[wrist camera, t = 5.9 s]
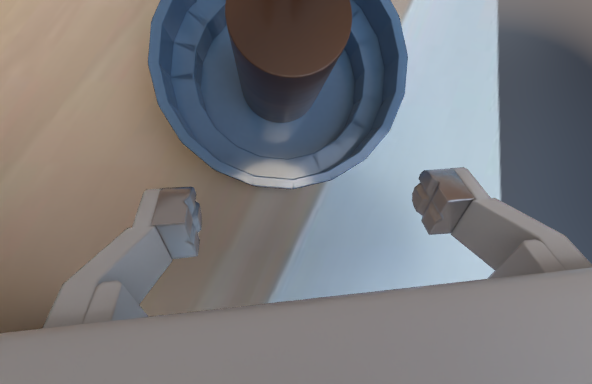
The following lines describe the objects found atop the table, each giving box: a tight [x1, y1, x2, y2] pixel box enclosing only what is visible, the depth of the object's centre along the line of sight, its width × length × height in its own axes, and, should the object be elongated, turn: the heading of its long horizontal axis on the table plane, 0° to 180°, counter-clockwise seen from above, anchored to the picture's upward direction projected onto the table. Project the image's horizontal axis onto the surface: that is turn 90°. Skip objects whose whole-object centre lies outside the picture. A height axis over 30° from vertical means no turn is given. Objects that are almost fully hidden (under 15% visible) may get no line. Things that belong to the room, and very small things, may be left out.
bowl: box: [148, 0, 408, 189], centre depth 20 cm, size 15×15×5 cm
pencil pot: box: [225, 0, 352, 123], centre depth 16 cm, size 6×6×12 cm
